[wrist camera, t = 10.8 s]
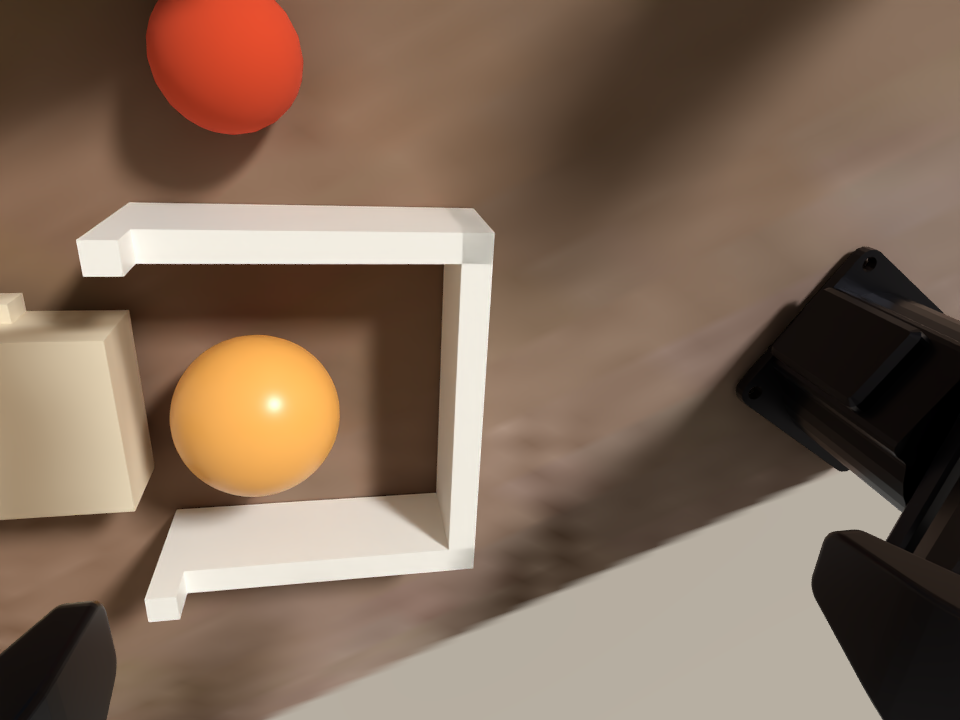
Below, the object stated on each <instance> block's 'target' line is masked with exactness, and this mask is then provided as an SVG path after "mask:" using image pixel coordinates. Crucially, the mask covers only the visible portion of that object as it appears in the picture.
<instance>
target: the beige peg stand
mask: <svg viewBox="0 0 960 720" xmlns="http://www.w3.org/2000/svg"><path fill="white" fill-rule="evenodd" d="M154 468H155V465H154V459H153V452H152V446H151V440H150V434H149V428H148V422H147V416H146V410H145V404H144V398H143V392H142V386H141V380H140V374H139V368H138V361H137V355H136V349H135V343H134V337H133V331H132V325H131V319H130V313H129V310H85V311H26V307H25V302H24V298H23V294H22V293H0V520H7V519H22V518H38V517H54V516H69V515H85V514H100V513H116V512H131V511H135V510H136V508H137V506H138V503H139V501H140V499H141V497H142V495H143V492H144V490H145V488H146V486H147V483H148V481H149V479H150V477H151V474H152V472H153V470H154Z"/></svg>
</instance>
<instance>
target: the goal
mask: <svg viewBox="0 0 960 720" xmlns="http://www.w3.org/2000/svg"><path fill="white" fill-rule="evenodd" d="M494 237H495V233H494V232H493V230H492V229H491V228H490V227H489V226H488V225H487V224H486V222H485V221H484V220H483V219H482V218H481V217H480V215H479V214H478V213H477V212H476V211H475V210H474V208H428V207H370V206H312V205H254V204H196V203H138V202H129V203H128V204H126V205H125V206H123V207H122V208H121V209H119V210H118V211H116V212H115V213H114V214H112V215H111V216H109V217H108V218H107V219H105V220H104V221H102V222H101V223H99V224H98V225H97V226H95V227H94V228H92V229H91V230H90V231H88V232H87V233H85V234H84V235H83V236H81V237H80V238H78V239H77V240H76V242H77V247H78V253H79V258H80V263H81V268H82V274H83V277H124V276H125V275H126V274H127V273H128V271H129V270H130V269H131V268H132V267H133V266H134V265H135V264H444V279H443V308H442V337H441V367H440V396H439V425H438V454H437V484H436V493H424V494H409V495H393V496H378V497H362V498H347V499H331V500H316V501H300V502H285V503H269V504H254V505H238V506H223V507H207V508H192V509H177V510H176V513H175V515H174V518H173V521H172V524H171V527H170V529H169V532H168V535H167V538H166V541H165V543H164V546H163V549H162V552H161V555H160V557H159V560H158V563H157V566H156V569H155V571H154V574H153V577H152V580H151V583H150V585H149V588H148V591H147V594H146V597H145V599H144V600H145V605H146V610H147V616H148V621H149V622H156V621H167V620H177V619H180V617H181V614H182V610H183V607H184V603H185V600H186V596H187V593H196V592H207V591H219V590H230V589H242V588H253V587H265V586H276V585H287V584H299V583H310V582H322V581H333V580H345V579H356V578H368V577H379V576H391V575H402V574H414V573H425V572H436V571H448V570H459V569H471V568H473V563H474V548H475V532H476V517H477V501H478V486H479V470H480V454H481V439H482V423H483V408H484V392H485V377H486V361H487V346H488V330H489V314H490V299H491V283H492V268H493V252H494Z"/></svg>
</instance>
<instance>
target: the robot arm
mask: <svg viewBox="0 0 960 720" xmlns="http://www.w3.org/2000/svg"><path fill="white" fill-rule="evenodd" d="M867 258H868V262H867V264H866V265H865V266H864V267H863V263H864V261H865V260H866V259H867ZM862 267H863V268H862ZM753 387H756V388H755V390H754V391H753V392H752V393H751V394H749V391H750V389H752V388H753ZM736 395H737V396H738V398H739V399H740V400H742V401H743V402H744V403H745V404H746V405H748V406H749V407H750V408H752V409H753V410H755V411H756V412H757V413H759V414H760V415H762V416H763V417H764V418H766V419H767V420H769V421H770V422H771V423H773V424H774V425H776V426H777V427H778V428H780V429H781V430H783V431H784V432H785V433H787V434H788V435H790V436H791V437H792V438H794V439H795V440H796V441H798V442H799V443H801V444H802V445H803V446H805V447H806V448H808V449H809V450H810V451H812V452H813V453H815V454H816V455H817V456H819V457H820V458H822V459H823V460H824V461H826V462H827V463H829V464H830V465H831V466H833V467H834V468H835V469H837V470H839V471H841V472H842V471H848V470H851V471H852V472H853V473H854V474H856V475H857V476H858V477H859V478H861V479H862V480H863V481H864V482H865V483H867V484H868V485H869V486H870V487H872V488H873V489H874V490H875V491H877V492H878V493H879V494H880V495H881V496H883V497H884V498H885V499H886V500H887V501H889V502H890V503H891V504H892V505H894V506H895V507H896V508H897V509H898V510H900V511H901V512H902V514H901V515H900V517H899V519H898V520H897V522H896V524H895V526H894V527H893V529H892V531H891V533H890V534H889V536H888V538H887V539H886V541H883V540H882V539H879V538H877V537H875V536H873V535H871V534H868V533H866V532H864V531H861V530H845V531H835V532H831V533H829V534H828V535H827V536H826V537H825V539H824V542H823V544H822V548H821V551H820V554H819V557H818V560H817V563H816V566H815V569H814V573H813V576H812V590H813V594H814V597H815V599H816V601H817V603H818V605H819V606H820V608H821V610H822V612H823V614H824V615H825V617H826V619H827V621H828V623H829V625H830V627H831V629H832V630H833V632H834V634H835V636H836V638H837V640H838V642H839V643H840V645H841V647H842V649H843V651H844V652H845V654H846V656H847V658H848V660H849V661H850V664H851V666H852V667H853V669H854V671H855V673H856V675H857V677H858V678H859V680H860V682H861V684H862V686H863V688H864V689H865V691H866V693H867V694H868V696H869V698H870V700H871V702H872V703H873V705H874V707H875V708H876V710H877V711H878V713H879V715H880V716H881V718H882V719H883V720H960V321H959V320H956V319H954V318H952V317H950V316H947V315H945V314H944V313H943V312H942V311H941V310H940V309H939V308H938V307H937V306H936V305H935V304H934V303H933V302H932V301H931V300H929V299H928V298H927V297H926V296H925V295H924V294H923V293H922V292H921V291H920V290H919V289H918V288H917V287H916V286H915V285H914V284H913V283H912V282H911V281H910V280H909V279H908V278H907V277H906V276H905V275H904V274H903V273H902V272H901V271H900V270H899V269H898V268H896V267H895V266H894V265H893V264H892V263H891V262H890V261H889V260H888V259H887V258H886V257H885V256H884V255H883V254H882V253H881V252H879V251H878V250H875V249H873V248H870V247H861V248H858V249H857V250H856V251H854V252H853V253H852V254H851V255H850V256H849V258H848V259H847V260H846V261H845V262H844V263H843V264H842V266H841V267H840V268H839V269H838V270H837V271H836V272H835V274H834V275H833V276H832V277H831V278H830V279H829V280H828V282H827V283H826V284H825V285H824V286H823V287H822V288H821V289H820V291H819V292H818V293H817V294H816V295H815V296H814V297H813V299H812V300H811V301H810V302H809V303H808V304H807V305H806V307H805V308H804V309H803V310H802V311H801V312H800V313H799V314H798V316H797V317H796V318H795V319H794V320H793V321H792V322H791V324H790V325H789V326H788V327H787V328H786V329H785V330H784V332H783V333H782V334H781V335H780V336H779V337H778V338H777V340H776V341H775V342H774V343H773V344H772V345H771V346H770V347H769V349H768V350H767V351H766V352H765V353H764V354H763V355H762V357H761V358H760V359H759V360H758V361H757V362H756V363H755V365H754V366H753V367H752V368H751V369H750V370H749V371H748V373H747V374H746V375H745V376H744V377H743V378H742V379H741V380H740V382H739V383H738V385H737V388H736ZM116 663H117V662H116V653H115V648H114V644H113V640H112V635H111V631H110V627H109V622H108V618H107V613H106V610H105V608H104V606H103V604H102V603H100V602H98V601H87V602H76V603H66V604H62V605H59V606H57V607H56V608H54V609H53V610H52V611H50V612H49V613H48V614H47V615H46V616H45V617H43V618H42V619H41V620H40V621H39V622H37V623H36V624H35V625H34V626H33V627H32V628H30V629H29V630H28V631H27V632H26V633H25V634H23V635H22V636H21V637H20V638H19V639H17V640H16V641H15V642H14V643H13V644H12V645H10V646H9V647H8V648H7V649H6V650H4V651H3V652H2V653H1V654H0V720H106V719H107V714H108V710H109V705H110V700H111V696H112V691H113V686H114V681H115V676H116Z"/></svg>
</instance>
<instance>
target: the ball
mask: <svg viewBox="0 0 960 720" xmlns="http://www.w3.org/2000/svg"><path fill="white" fill-rule="evenodd" d="M339 419H340V413H339V401H338V396H337V392H336V389H335V386H334V384H333V382H332V379H331V377H330V376H329V374H328V372H327V371H326V369H325V368H324V367H323V365H322V364H321V363H320V362H319V361H318V360H317V359H316V358H315V357H314V356H313V355H312V354H311V353H309V352H308V351H307V350H305V349H304V348H302V347H301V346H299V345H297V344H295V343H293V342H291V341H288V340H285V339H282V338H278V337H273V336H267V335H246V336H240V337H235V338H232V339H229V340H226V341H223V342H221V343H219V344H217V345H214V346H213V347H211V348H209V349H208V350H206V351H205V352H204V353H202V354H201V355H200V356H199V357H198V358H197V359H196V360H194V361H193V362H192V363H191V364H190V365H189V367H188V368H187V369H186V371H185V372H184V374H183V375H182V377H181V378H180V380H179V382H178V384H177V386H176V389H175V391H174V394H173V397H172V401H171V408H170V428H171V434H172V438H173V442H174V445H175V447H176V449H177V452H178V453H179V455H180V457H181V459H182V460H183V462H184V463H185V464H186V466H187V467H188V468H189V469H190V470H191V472H192V473H193V474H195V475H196V476H197V477H198V478H199V479H200V480H202V481H203V482H205V483H206V484H208V485H210V486H211V487H213V488H215V489H217V490H220V491H223V492H226V493H229V494H233V495H237V496H245V497H259V496H268V495H272V494H276V493H280V492H283V491H285V490H288V489H290V488H292V487H294V486H296V485H298V484H299V483H301V482H303V481H304V480H305V479H307V478H308V477H309V476H310V475H311V474H313V473H314V472H315V471H316V470H317V469H318V468H319V467H320V465H321V464H322V463H323V462H324V460H325V459H326V457H327V456H328V454H329V452H330V450H331V448H332V446H333V444H334V442H335V439H336V435H337V432H338V427H339Z"/></svg>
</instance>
